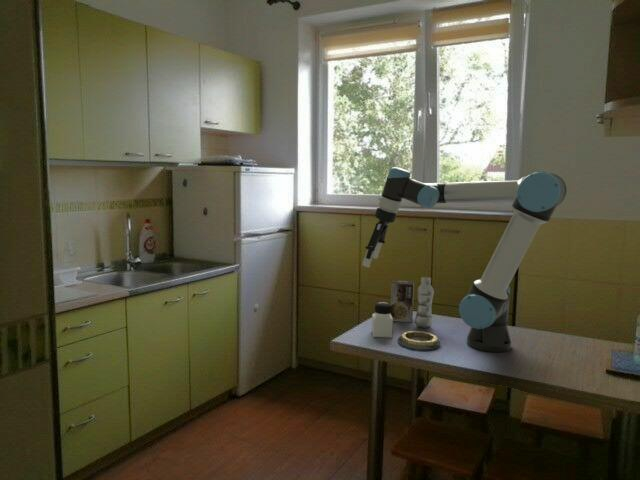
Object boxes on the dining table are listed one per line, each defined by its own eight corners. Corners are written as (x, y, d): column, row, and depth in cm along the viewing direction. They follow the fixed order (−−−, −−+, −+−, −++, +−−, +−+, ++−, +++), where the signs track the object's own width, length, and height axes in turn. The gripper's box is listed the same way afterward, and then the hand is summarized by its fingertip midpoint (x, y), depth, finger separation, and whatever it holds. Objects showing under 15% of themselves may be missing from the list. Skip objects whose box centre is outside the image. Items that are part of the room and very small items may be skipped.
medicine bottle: (392, 337, 182) (393, 306, 181) (373, 337, 182) (374, 305, 181) (390, 331, 189) (391, 301, 188) (371, 331, 189) (372, 300, 188)
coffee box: (412, 318, 208) (414, 281, 206) (411, 322, 202) (414, 284, 200) (391, 316, 210) (392, 279, 208) (389, 320, 204) (391, 282, 202)
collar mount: (436, 337, 184) (437, 331, 183) (443, 351, 169) (443, 344, 168) (396, 335, 185) (396, 329, 184) (399, 349, 170) (399, 342, 170)
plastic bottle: (414, 324, 200) (416, 276, 197) (431, 325, 199) (434, 276, 196) (415, 329, 194) (417, 279, 191) (432, 330, 193) (435, 280, 190)
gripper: (384, 201, 192) (368, 251, 198) (370, 210, 169) (352, 266, 175) (402, 208, 190) (385, 257, 196) (390, 217, 167) (371, 273, 173)
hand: (369, 261), depth 186 cm, fingers open, 13 cm apart
